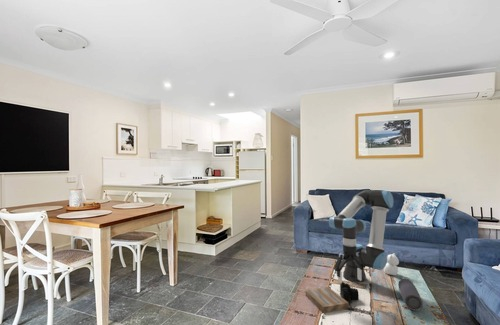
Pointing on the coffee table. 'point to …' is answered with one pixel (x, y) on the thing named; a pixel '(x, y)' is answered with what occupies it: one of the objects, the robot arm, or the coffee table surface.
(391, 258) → the cat figurine
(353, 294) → the film camera
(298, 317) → the coffee table surface
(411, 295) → the bluetooth speaker
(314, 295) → the wooden pallet
